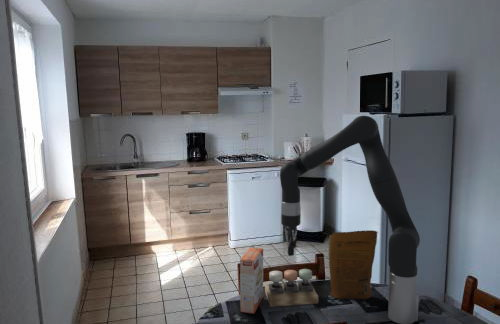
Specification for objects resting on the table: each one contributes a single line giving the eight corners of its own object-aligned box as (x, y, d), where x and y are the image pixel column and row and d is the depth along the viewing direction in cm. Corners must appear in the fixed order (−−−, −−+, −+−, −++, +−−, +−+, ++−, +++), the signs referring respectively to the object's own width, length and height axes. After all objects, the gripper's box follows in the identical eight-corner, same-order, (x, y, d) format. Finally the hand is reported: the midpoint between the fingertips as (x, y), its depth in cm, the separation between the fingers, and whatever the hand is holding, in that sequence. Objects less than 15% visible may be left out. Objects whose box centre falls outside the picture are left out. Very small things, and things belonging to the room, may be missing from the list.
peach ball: (295, 280, 166) (295, 269, 165) (298, 286, 161) (298, 274, 160) (283, 281, 165) (283, 270, 165) (285, 287, 160) (285, 275, 160)
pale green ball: (310, 279, 167) (310, 268, 166) (313, 285, 161) (313, 273, 161) (297, 280, 166) (297, 269, 165) (300, 286, 161) (300, 274, 160)
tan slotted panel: (309, 288, 171) (309, 276, 171) (318, 303, 158) (318, 290, 158) (265, 291, 169) (264, 279, 168) (270, 306, 156) (270, 293, 156)
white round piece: (281, 281, 165) (281, 270, 165) (283, 287, 160) (283, 275, 159) (268, 282, 165) (268, 271, 164) (270, 288, 160) (270, 276, 159)
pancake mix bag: (377, 301, 159) (379, 232, 155) (328, 300, 160) (329, 232, 157) (373, 293, 166) (375, 227, 162) (326, 293, 167) (327, 227, 163)
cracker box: (255, 314, 151) (254, 260, 148) (239, 312, 152) (238, 259, 149) (264, 297, 164) (263, 247, 161) (250, 295, 166) (249, 246, 163)
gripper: (304, 216, 153) (304, 260, 155) (296, 207, 166) (296, 248, 168) (284, 217, 152) (284, 261, 155) (278, 208, 165) (278, 249, 168)
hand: (290, 254), depth 161 cm, fingers closed
